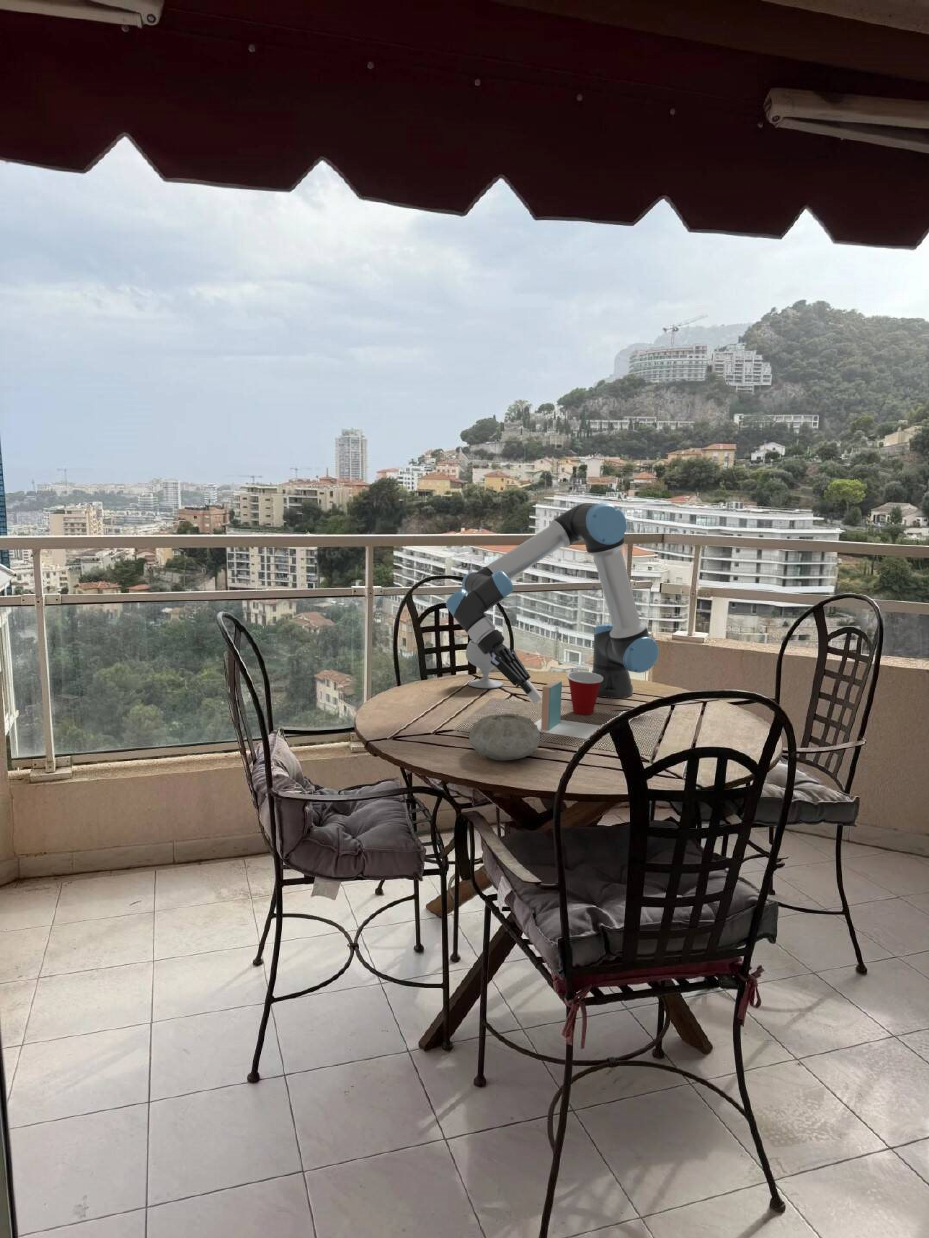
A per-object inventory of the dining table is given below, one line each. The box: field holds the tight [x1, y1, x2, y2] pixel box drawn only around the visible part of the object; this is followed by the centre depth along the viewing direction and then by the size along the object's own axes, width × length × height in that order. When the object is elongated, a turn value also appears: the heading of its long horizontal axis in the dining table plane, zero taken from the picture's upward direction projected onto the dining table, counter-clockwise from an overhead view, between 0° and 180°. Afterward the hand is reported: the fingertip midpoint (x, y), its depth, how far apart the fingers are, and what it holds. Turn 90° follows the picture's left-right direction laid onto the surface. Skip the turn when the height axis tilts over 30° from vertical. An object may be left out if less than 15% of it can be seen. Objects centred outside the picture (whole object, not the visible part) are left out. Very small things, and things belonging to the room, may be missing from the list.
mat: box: [533, 717, 601, 740], centre depth 227 cm, size 20×14×1 cm
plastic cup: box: [566, 670, 603, 716], centre depth 243 cm, size 11×11×12 cm
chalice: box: [465, 639, 506, 689], centre depth 277 cm, size 14×14×15 cm
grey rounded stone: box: [468, 712, 541, 761], centre depth 205 cm, size 18×18×10 cm
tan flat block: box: [541, 679, 563, 730], centre depth 229 cm, size 2×9×12 cm, turn 154°
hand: (538, 700), depth 229 cm, fingers closed
